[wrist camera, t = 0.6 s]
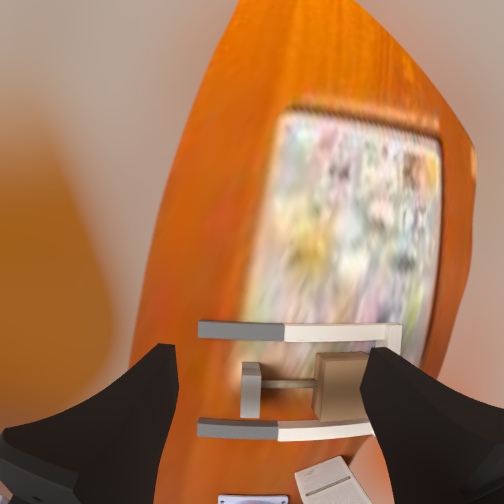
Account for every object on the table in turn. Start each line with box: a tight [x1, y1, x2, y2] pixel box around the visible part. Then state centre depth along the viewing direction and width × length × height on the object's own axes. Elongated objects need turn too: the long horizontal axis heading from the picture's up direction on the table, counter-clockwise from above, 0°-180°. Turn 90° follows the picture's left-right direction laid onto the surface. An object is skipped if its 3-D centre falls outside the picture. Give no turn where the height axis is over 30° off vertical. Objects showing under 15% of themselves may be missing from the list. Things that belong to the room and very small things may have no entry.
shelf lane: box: [277, 322, 402, 441], centre depth 28 cm, size 12×12×3 cm
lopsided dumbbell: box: [241, 351, 369, 422], centre depth 27 cm, size 6×12×5 cm, turn 88°
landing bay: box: [197, 320, 285, 439], centre depth 28 cm, size 12×8×2 cm, turn 178°
